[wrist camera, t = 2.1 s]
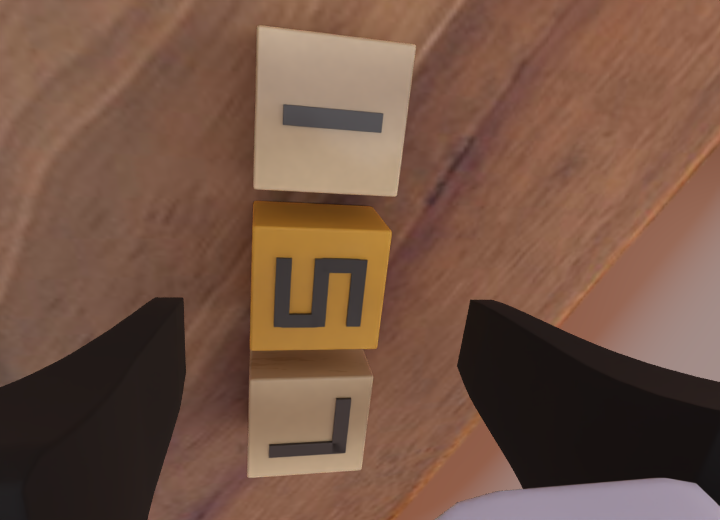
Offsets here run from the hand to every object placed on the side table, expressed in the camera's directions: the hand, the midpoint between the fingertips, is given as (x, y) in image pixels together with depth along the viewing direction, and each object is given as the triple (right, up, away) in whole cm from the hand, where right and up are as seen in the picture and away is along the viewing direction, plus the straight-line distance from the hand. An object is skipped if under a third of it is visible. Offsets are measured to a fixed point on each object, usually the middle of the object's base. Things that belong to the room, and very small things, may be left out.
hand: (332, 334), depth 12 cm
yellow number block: (-1, +2, +5) cm, 5 cm away
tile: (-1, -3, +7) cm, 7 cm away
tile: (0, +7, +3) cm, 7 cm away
